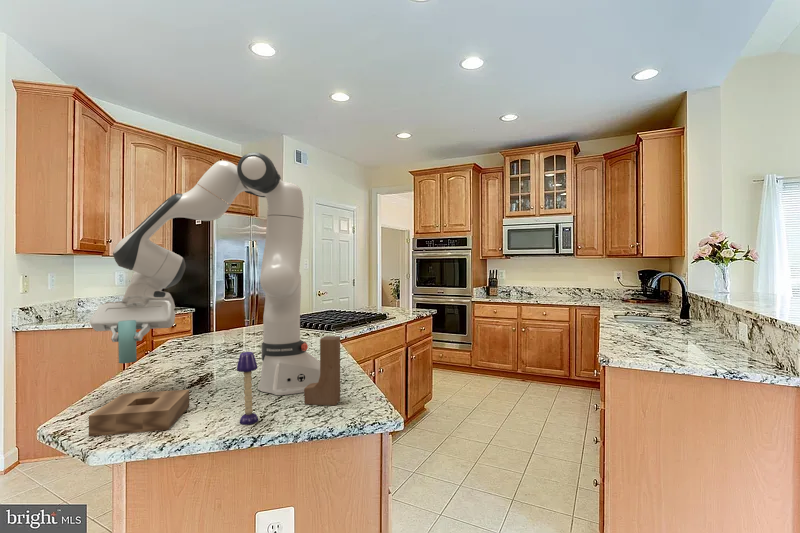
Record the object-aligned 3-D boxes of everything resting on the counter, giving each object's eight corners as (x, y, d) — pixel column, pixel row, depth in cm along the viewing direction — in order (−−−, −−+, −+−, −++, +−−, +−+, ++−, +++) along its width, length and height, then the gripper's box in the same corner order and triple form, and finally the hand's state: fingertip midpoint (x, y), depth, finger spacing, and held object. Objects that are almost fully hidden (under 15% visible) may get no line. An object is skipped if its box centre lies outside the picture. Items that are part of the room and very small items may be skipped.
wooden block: (303, 404, 108) (303, 338, 108) (309, 399, 113) (309, 335, 113) (335, 406, 107) (335, 339, 107) (340, 400, 112) (340, 336, 112)
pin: (139, 359, 111) (138, 319, 111) (132, 362, 107) (132, 321, 107) (122, 360, 110) (122, 320, 110) (115, 363, 106) (115, 322, 106)
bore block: (189, 406, 107) (189, 389, 107) (168, 429, 92) (168, 410, 92) (122, 411, 104) (122, 393, 104) (88, 436, 88) (88, 415, 88)
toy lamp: (250, 426, 94) (250, 355, 94) (232, 425, 94) (232, 354, 94) (261, 418, 98) (261, 350, 98) (244, 417, 99) (244, 350, 99)
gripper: (96, 295, 113) (77, 335, 104) (175, 292, 118) (164, 331, 108) (104, 309, 118) (87, 349, 108) (180, 306, 122) (170, 344, 112)
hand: (126, 340), depth 108 cm, fingers closed on pin, 4 cm apart
